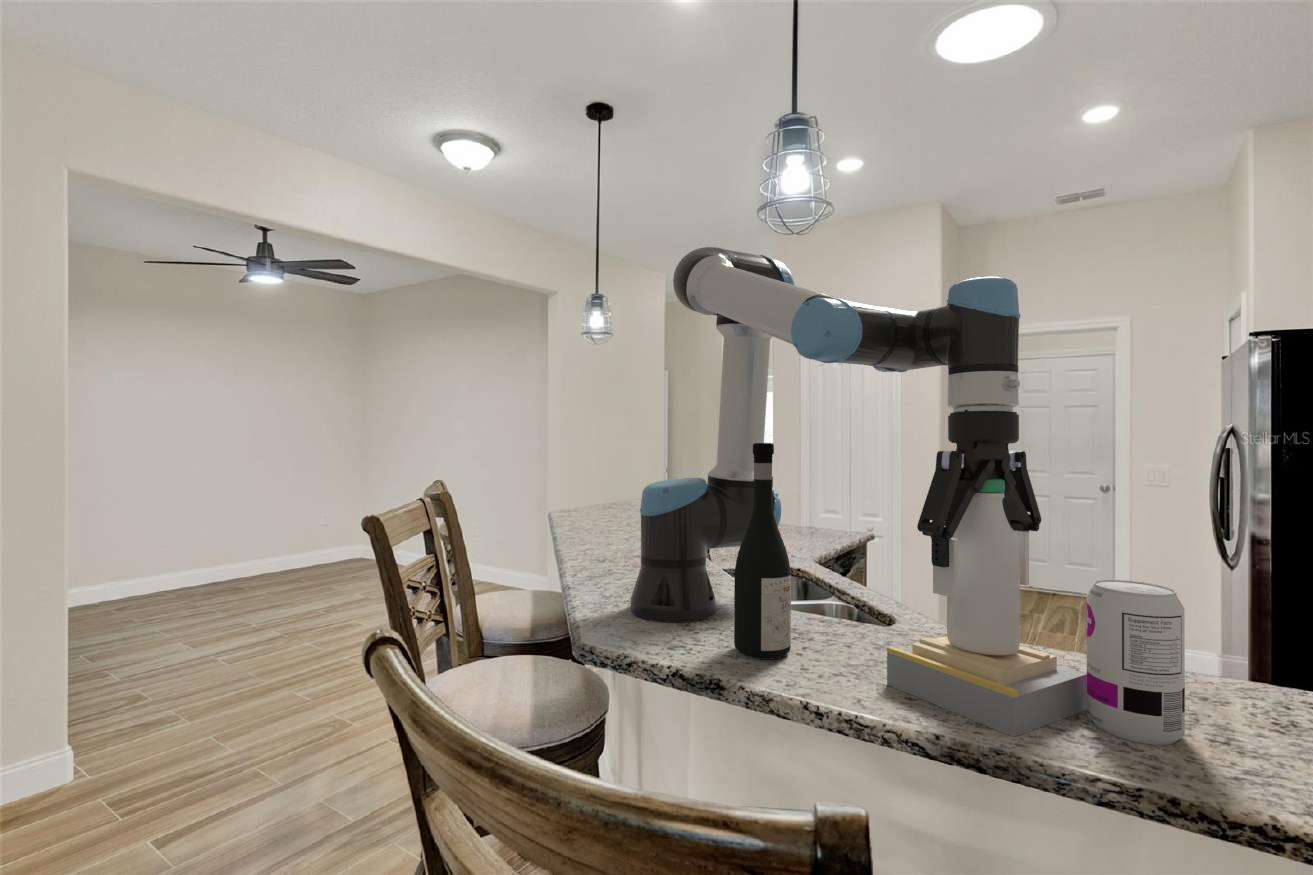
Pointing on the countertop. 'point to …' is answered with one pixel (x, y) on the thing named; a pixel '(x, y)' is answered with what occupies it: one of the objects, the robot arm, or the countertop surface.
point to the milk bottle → (986, 578)
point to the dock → (989, 684)
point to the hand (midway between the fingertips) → (982, 589)
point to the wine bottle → (762, 574)
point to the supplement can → (1136, 661)
